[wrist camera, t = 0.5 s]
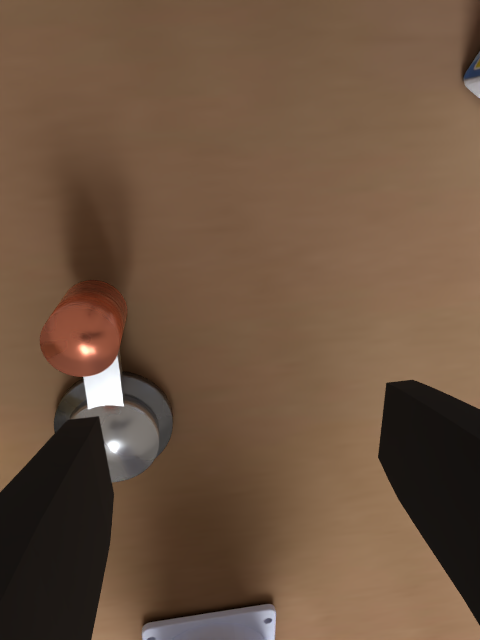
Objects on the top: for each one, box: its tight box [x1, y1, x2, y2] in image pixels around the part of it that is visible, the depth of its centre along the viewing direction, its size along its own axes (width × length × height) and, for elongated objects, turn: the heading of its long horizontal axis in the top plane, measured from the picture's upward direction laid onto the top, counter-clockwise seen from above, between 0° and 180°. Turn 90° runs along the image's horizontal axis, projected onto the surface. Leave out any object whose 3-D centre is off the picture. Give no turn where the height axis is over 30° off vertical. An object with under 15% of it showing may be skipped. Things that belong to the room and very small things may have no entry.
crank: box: [40, 280, 159, 482], centre depth 17 cm, size 9×4×4 cm, turn 0°
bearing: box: [54, 371, 173, 458], centre depth 20 cm, size 5×5×1 cm
